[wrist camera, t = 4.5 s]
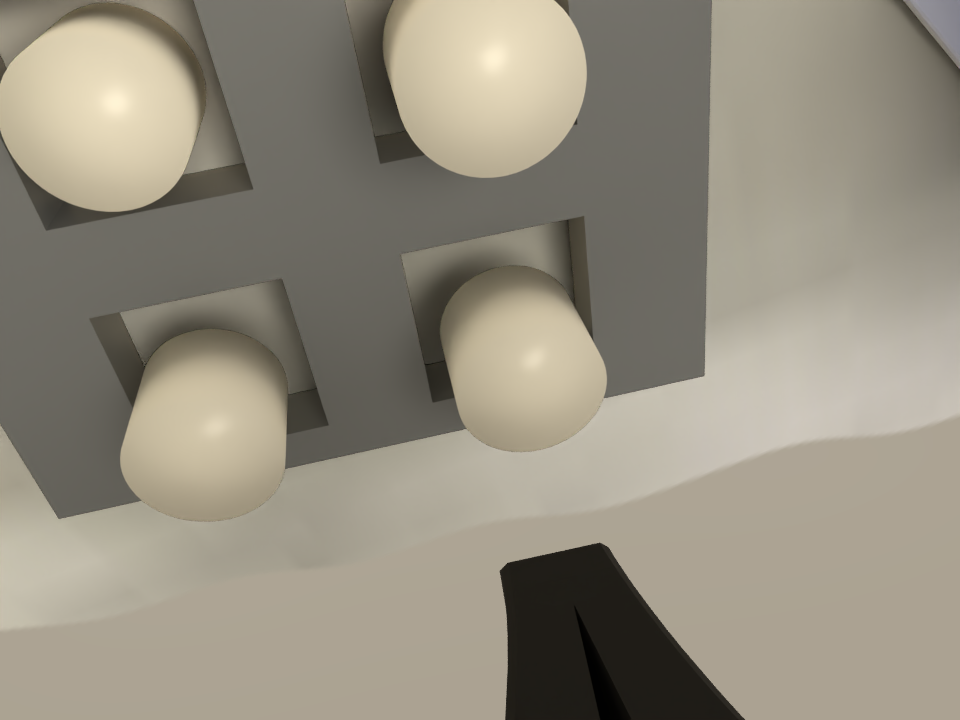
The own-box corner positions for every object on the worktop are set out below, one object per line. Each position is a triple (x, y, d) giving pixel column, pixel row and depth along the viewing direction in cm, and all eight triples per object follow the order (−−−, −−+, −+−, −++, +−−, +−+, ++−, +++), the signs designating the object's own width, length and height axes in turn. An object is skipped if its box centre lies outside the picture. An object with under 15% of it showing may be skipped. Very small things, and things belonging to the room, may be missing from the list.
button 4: (540, -61, 14) (580, -38, 12) (555, 112, 16) (593, 158, 14) (365, -29, 14) (376, 0, 12) (400, 143, 16) (415, 194, 13)
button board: (680, -199, 15) (715, -199, 14) (680, 342, 22) (704, 376, 21) (-221, -40, 14) (-275, -24, 13) (74, 474, 21) (58, 519, 20)
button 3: (568, 252, 17) (602, 312, 15) (578, 366, 19) (610, 433, 17) (428, 281, 17) (445, 345, 15) (451, 394, 19) (469, 465, 17)
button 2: (175, -11, 15) (153, 17, 13) (226, 146, 17) (215, 193, 15) (9, 19, 15) (-40, 52, 13) (78, 174, 17) (45, 227, 15)
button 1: (265, 315, 17) (260, 384, 15) (303, 426, 19) (303, 502, 17) (119, 345, 17) (93, 420, 15) (171, 455, 19) (154, 535, 16)
